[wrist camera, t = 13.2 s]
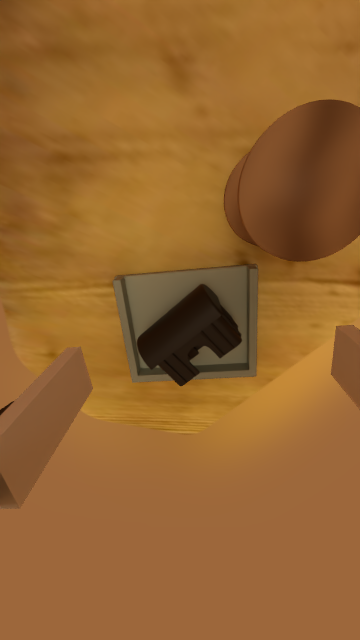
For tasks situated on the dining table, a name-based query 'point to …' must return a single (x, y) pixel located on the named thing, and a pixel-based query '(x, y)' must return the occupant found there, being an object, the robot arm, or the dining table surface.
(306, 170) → the bobbin spool
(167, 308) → the olive grey tray
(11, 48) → the dining table surface
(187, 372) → the end cap
